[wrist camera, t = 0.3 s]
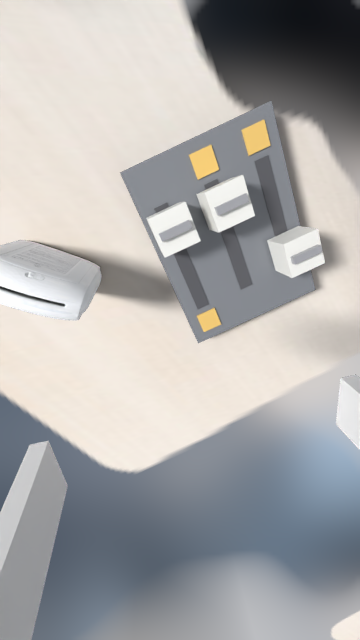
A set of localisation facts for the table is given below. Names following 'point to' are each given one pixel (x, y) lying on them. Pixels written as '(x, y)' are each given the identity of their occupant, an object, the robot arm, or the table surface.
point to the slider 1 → (173, 229)
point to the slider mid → (226, 204)
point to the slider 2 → (296, 251)
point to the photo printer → (46, 280)
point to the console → (235, 242)
